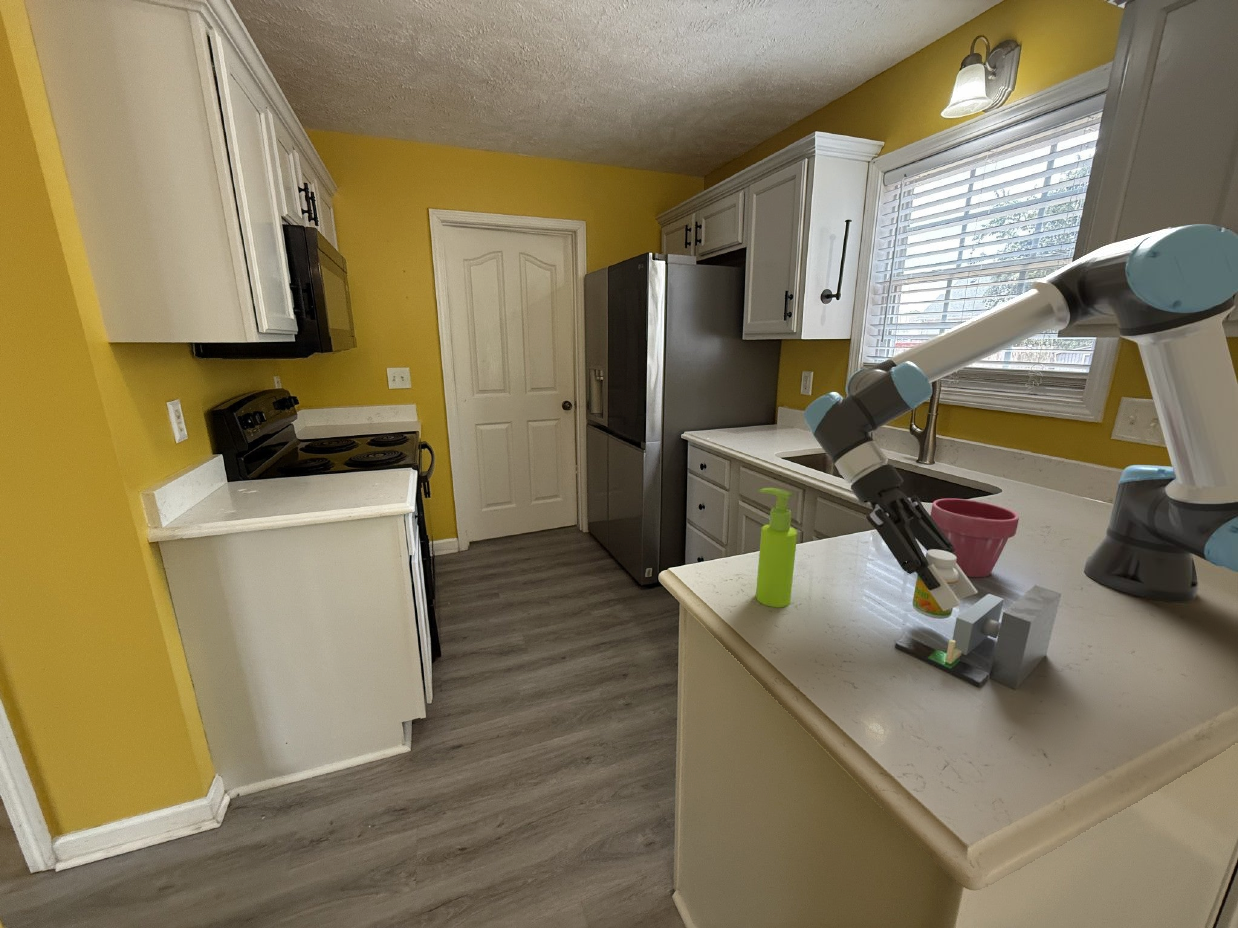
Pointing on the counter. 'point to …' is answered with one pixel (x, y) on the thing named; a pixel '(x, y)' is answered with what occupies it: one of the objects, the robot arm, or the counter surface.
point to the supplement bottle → (922, 596)
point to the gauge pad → (975, 626)
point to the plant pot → (975, 532)
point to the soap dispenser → (776, 554)
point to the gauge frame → (1004, 642)
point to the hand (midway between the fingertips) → (960, 601)
